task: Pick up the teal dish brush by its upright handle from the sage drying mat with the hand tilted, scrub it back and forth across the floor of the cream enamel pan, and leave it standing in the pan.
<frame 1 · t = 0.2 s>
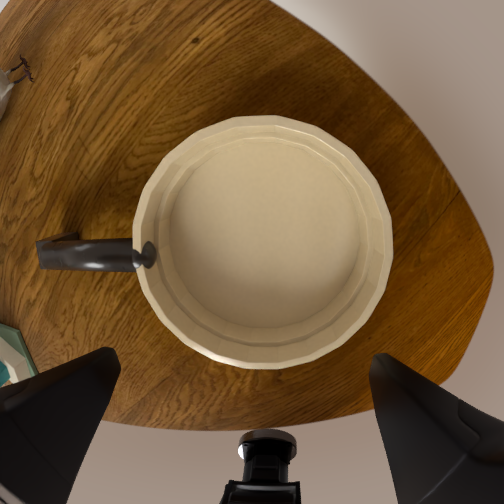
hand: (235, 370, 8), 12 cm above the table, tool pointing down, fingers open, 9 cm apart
decorative bird: (3, 117, 18), on the table
drying mat: (18, 356, 27), on the table
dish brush: (15, 358, 26), point 1 cm above the table, touching drying mat
pan: (263, 240, 19), on the table
pan handle: (114, 243, 20), on the table
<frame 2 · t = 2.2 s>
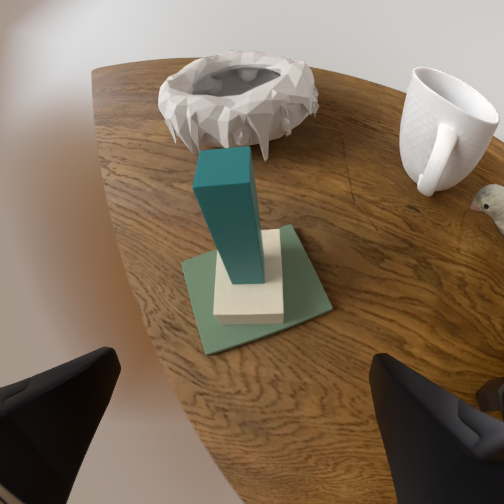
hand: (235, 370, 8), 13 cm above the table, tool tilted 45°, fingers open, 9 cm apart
mug: (423, 178, 29), on the table
bowl: (241, 130, 35), on the table
drying mat: (253, 287, 24), on the table
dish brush: (252, 284, 23), point 1 cm above the table, touching drying mat
pan handle: (494, 433, 13), on the table
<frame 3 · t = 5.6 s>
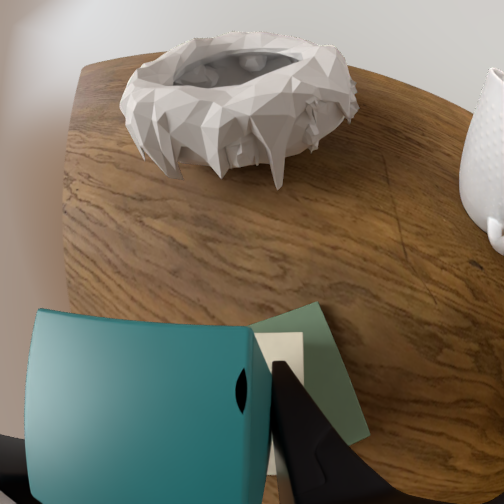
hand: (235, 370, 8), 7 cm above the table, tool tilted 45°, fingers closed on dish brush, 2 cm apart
mug: (482, 216, 19), on the table
bowl: (242, 138, 26), on the table
drying mat: (254, 402, 14), on the table
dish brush: (253, 403, 13), point 1 cm above the table, touching drying mat, gripper
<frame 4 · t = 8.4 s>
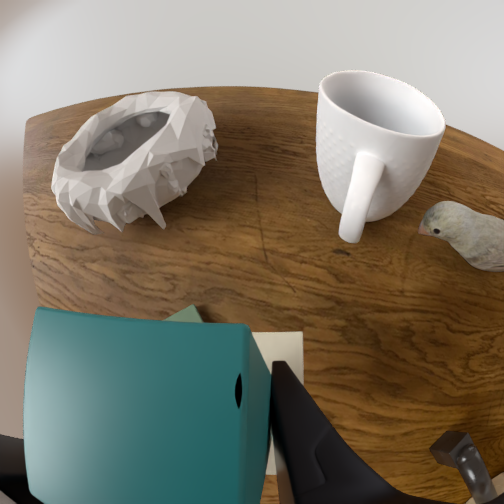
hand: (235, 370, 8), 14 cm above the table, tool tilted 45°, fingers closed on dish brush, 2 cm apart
decorative bird: (469, 258, 23), on the table
mug: (356, 206, 28), on the table
bowl: (147, 186, 32), on the table
drying mat: (164, 376, 21), on the table
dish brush: (253, 402, 13), point 7 cm above the table, touching gripper
pan handle: (458, 476, 12), on the table
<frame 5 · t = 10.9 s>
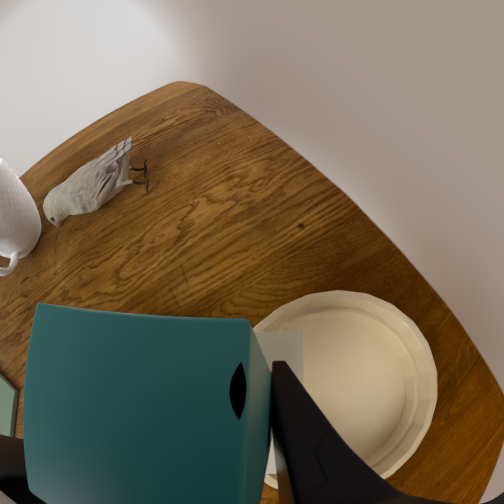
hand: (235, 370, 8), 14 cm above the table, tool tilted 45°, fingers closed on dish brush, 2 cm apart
decorative bird: (103, 205, 32), on the table
mug: (28, 245, 30), on the table
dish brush: (253, 402, 13), point 7 cm above the table, touching gripper
pan: (328, 396, 19), on the table
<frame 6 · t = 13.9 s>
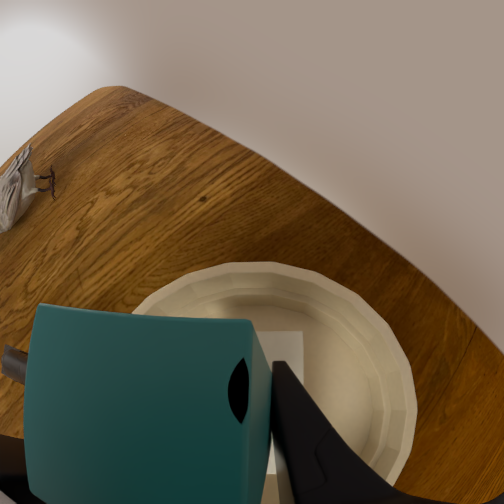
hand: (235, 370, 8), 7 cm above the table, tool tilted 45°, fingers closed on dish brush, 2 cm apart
decorative bird: (20, 221, 24), on the table
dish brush: (253, 402, 13), point 1 cm above the table, touching gripper
pan: (254, 416, 13), on the table
pan handle: (83, 387, 14), on the table
when the fingers open (7 cm above the table, at t = 16.6 s): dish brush stays where it is, resting on pan.
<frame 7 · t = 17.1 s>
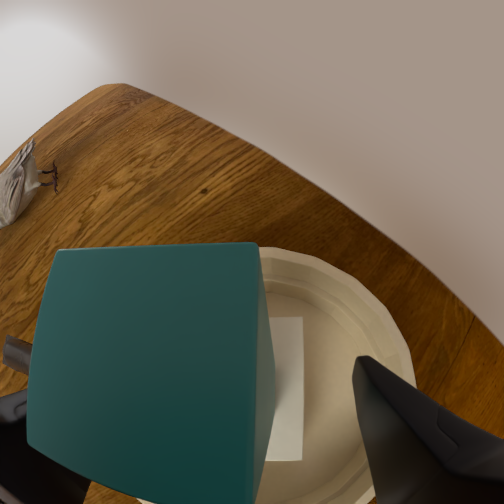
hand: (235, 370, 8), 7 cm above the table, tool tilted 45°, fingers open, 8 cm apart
decorative bird: (22, 216, 25), on the table
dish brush: (253, 390, 14), point 1 cm above the table, touching pan
pan: (254, 402, 14), on the table
pan handle: (84, 376, 15), on the table
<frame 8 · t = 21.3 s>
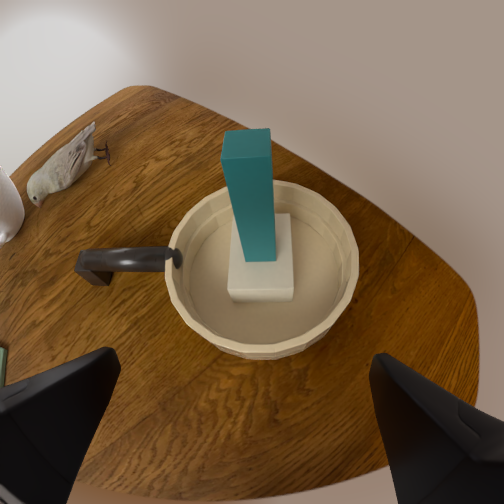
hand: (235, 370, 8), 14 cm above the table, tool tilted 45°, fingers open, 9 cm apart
decorative bird: (75, 183, 36), on the table
mug: (13, 230, 33), on the table
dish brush: (263, 265, 24), point 1 cm above the table, touching pan
pan: (263, 276, 25), on the table
pan handle: (142, 276, 26), on the table
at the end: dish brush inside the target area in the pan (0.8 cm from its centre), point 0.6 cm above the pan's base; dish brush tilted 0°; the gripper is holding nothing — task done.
